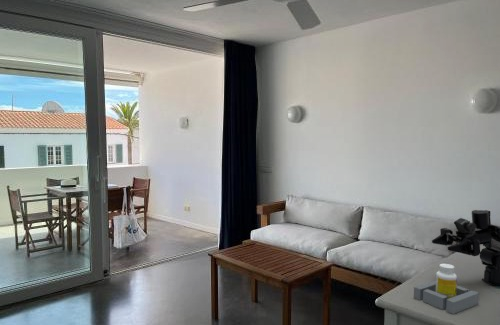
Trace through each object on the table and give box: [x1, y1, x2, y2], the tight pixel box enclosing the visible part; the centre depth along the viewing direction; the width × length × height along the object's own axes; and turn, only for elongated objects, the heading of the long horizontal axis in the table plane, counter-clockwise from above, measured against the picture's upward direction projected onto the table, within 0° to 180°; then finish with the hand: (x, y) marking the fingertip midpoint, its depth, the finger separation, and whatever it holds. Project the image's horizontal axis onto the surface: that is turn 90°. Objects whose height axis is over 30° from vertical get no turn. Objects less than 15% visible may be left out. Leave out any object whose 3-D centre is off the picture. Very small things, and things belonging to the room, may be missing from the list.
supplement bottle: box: [435, 263, 458, 299], centre depth 139 cm, size 7×7×13 cm
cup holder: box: [413, 279, 480, 315], centre depth 139 cm, size 15×15×4 cm
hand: (439, 245), depth 150 cm, fingers open, 9 cm apart
